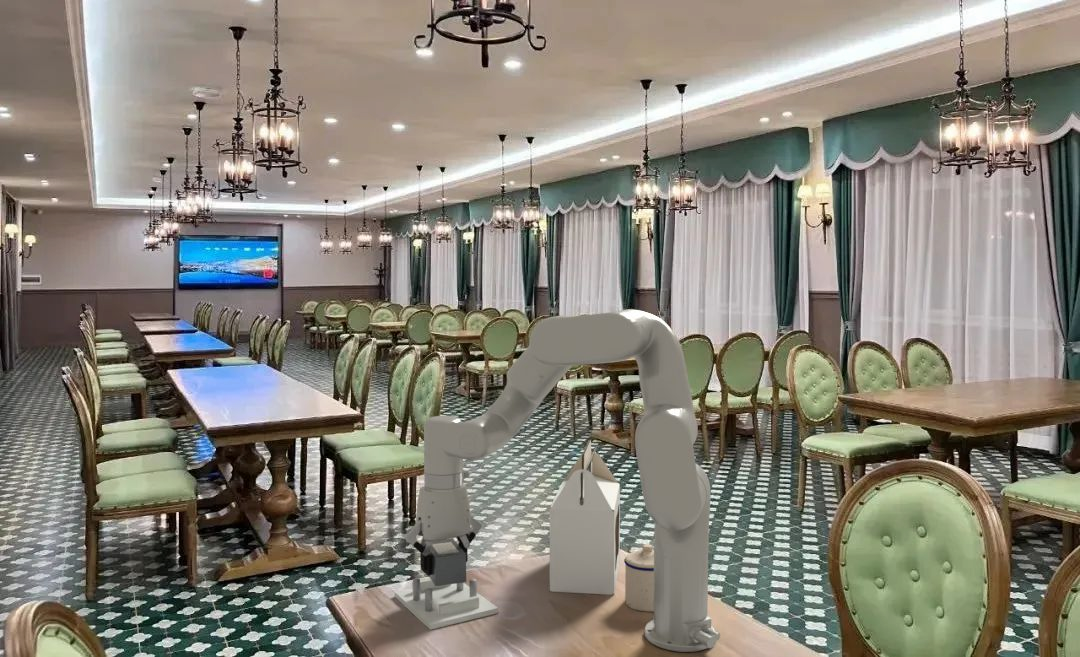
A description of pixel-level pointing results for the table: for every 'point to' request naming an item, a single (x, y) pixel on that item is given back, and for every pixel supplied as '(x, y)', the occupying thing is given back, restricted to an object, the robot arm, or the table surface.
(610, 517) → the gable box
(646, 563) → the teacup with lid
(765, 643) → the table surface
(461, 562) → the drive
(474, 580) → the peg fixture base
